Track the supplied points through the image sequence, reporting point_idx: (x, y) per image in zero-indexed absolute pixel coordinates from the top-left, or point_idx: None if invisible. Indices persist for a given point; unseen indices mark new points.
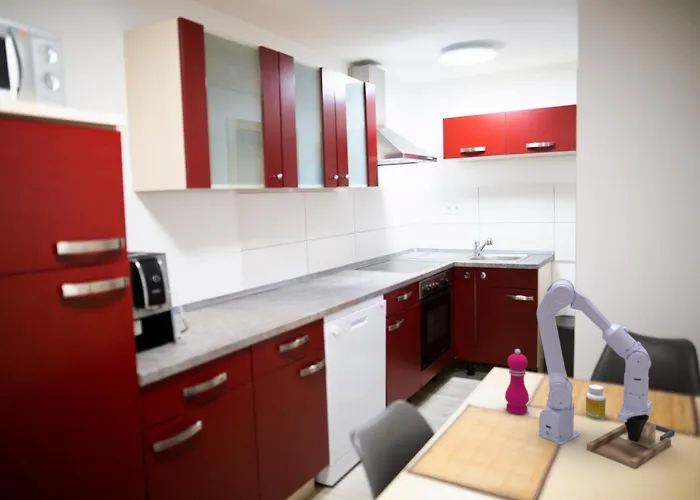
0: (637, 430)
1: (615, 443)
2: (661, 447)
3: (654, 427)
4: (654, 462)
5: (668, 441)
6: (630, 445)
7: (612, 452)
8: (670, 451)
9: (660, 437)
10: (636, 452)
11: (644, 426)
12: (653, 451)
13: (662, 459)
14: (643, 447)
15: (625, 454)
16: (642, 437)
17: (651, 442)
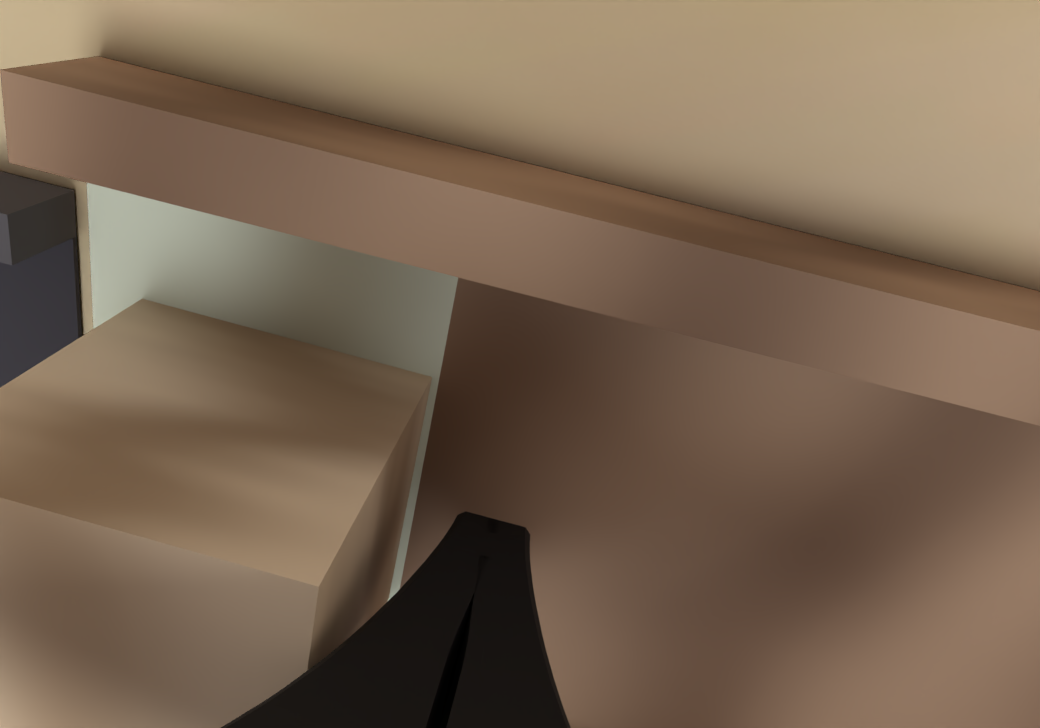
0: (564, 717)
1: (617, 693)
2: (436, 166)
3: (7, 438)
4: (935, 171)
5: (126, 97)
6: (556, 550)
7: (942, 697)
8: (294, 20)
9: (21, 253)
10: (753, 459)
11: (248, 632)
12: (777, 258)
13: (725, 76)
14: (501, 403)
15: (923, 568)
16: (387, 503)
17: (259, 337)
